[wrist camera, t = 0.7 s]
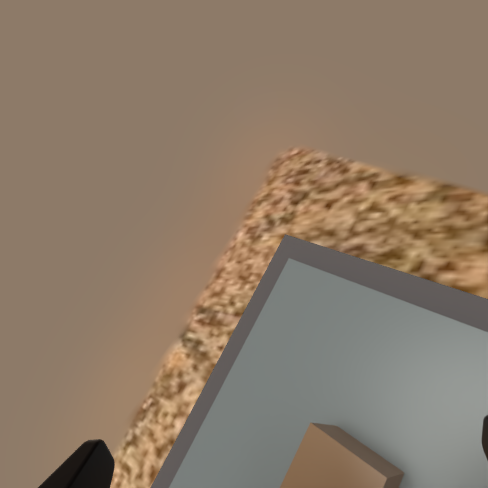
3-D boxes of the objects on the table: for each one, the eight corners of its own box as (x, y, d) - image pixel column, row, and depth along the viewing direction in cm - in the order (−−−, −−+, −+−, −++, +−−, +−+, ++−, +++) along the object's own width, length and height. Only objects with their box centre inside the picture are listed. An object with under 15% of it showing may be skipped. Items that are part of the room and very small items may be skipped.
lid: (698, 415, 14) (764, 405, 11) (519, 1037, 11) (530, 1311, 8) (293, 262, 28) (264, 235, 25) (159, 519, 25) (103, 532, 21)
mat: (786, 398, 14) (794, 397, 13) (579, 1226, 10) (583, 1257, 10) (287, 236, 30) (285, 234, 30) (135, 524, 26) (130, 525, 26)
